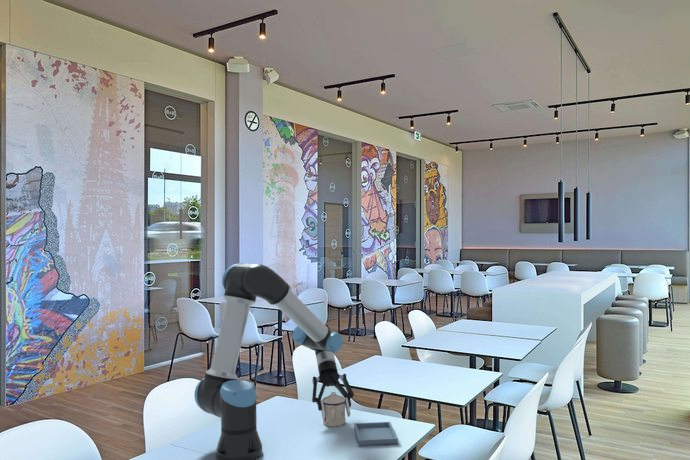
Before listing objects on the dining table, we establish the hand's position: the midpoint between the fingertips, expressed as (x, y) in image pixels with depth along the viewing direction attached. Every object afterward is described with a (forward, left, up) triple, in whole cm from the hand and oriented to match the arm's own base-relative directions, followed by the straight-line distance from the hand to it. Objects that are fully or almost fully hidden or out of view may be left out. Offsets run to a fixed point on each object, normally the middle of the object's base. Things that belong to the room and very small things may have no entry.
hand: (336, 416), depth 196 cm
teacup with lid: (-1, +3, -4) cm, 5 cm away
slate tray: (+13, -11, -4) cm, 18 cm away
